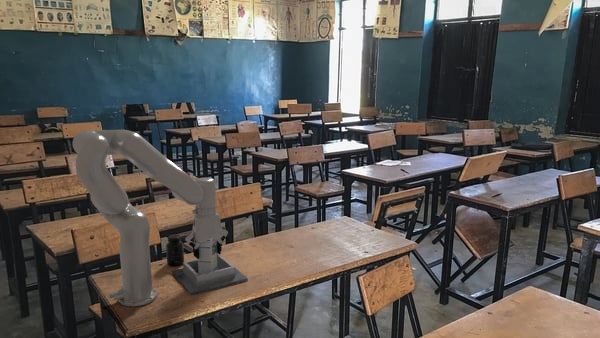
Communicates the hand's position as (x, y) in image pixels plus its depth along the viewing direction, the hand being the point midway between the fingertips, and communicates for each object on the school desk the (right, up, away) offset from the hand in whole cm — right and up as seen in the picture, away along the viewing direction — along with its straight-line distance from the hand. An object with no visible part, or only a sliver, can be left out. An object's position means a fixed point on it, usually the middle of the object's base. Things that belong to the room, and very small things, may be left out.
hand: (207, 255), depth 171 cm
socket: (0, -9, +2) cm, 9 cm away
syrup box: (0, -7, +1) cm, 7 cm away
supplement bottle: (-16, -6, +14) cm, 22 cm away
